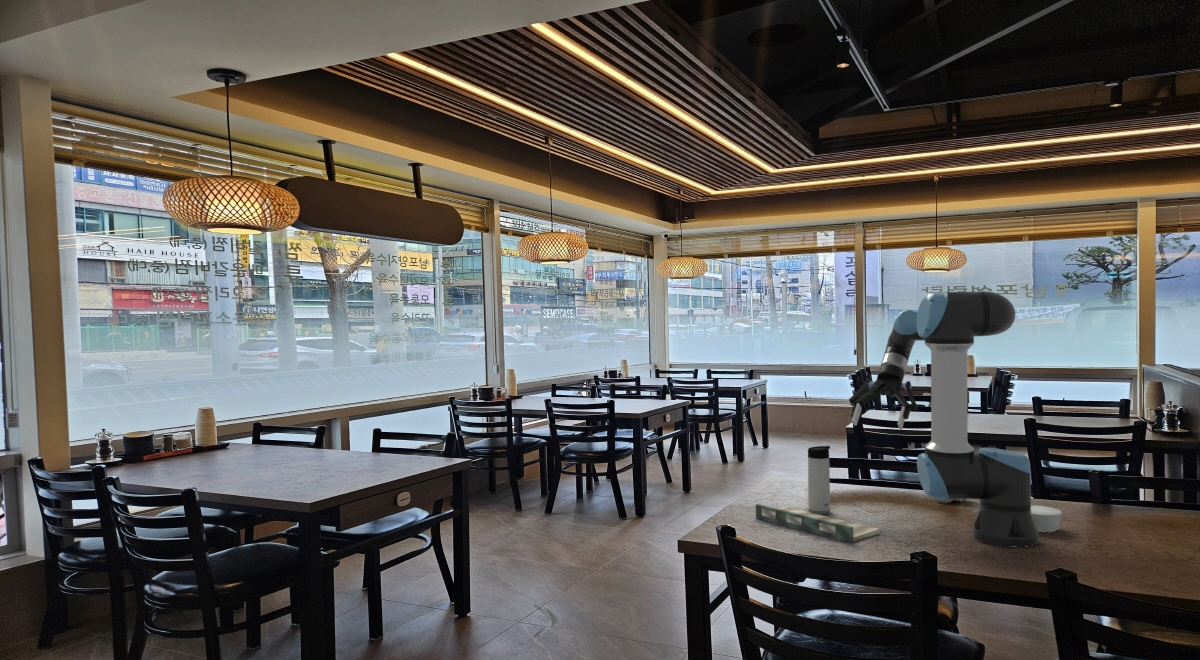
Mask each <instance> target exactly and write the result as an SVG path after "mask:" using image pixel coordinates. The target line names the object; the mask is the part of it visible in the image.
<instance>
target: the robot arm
mask: <svg viewBox="0 0 1200 660" xmlns="http://www.w3.org/2000/svg"><path fill="white" fill-rule="evenodd" d="M1015 319H1016V309H1015V307H1014V305H1013V303H1012V302H1011V301H1010V300H1009V299H1008V298H1007V297H1005V296H1004V295H1001V294H999V293H998V292H993V291H986V290H985V291H940V292H932V293H931V292H930V293H928V294H926V295H924V297H923V298H922V299H921V302H920V304H919V305H918V309H917V311H915V310H912V309H905V310H902V311H900V312H899V313H898V315H897V317H896V318H895V321H894V322H893V326H892V329H891V332H890V333H889V336H888V339H887V344H886V346H885V351H884V354H883V358H882V360H881V362H880V363H881V364H880V367H879V370H878V372H877V378H876V379H875V380H874V381H873V380H872V381H871V380H870V379H869V378H867V379H865V381H864V383H863V385H861V387H859V389H857V391H856V392H855V393H853V394H852V396H851V397H849V399H848V401H849V404H850V405H851V406H852V410H851V413H852V417H851V422H852V423H853V426H857V425H858V422H859V420H860V416H861V412H862V409H863V408H862V406H863V405H865V404H866V403H868V402H870V401H871V400H873V399H874V398H876V397H880V395H881V396H888V397H892V396H893V395H894V396H895V398H896V399H897V400H898V401H899V402H900V403H901V405H902V406H901V409H900V413H899V416H898V419H897V424H896V425H897V427H898V430H903V427H904V423H905V420H908V419H909V418H910V415H911V414H910V413H911V411H918V410H919V409H918V405H917V402H916V400H915V397H914V394H913V387H912V383H911V381H909V380H907V381H906V382H904V377H905V373H906V370H907V368H908V363H909V359H910V355H911V353H912V350H913V347H914V344H915V343H916V342H918V341H919V342H921V341H924V345H925V346H927V348H929V349H930V383H931V385H930V393H931V394H930V396H931V397H930V406H931V407H930V409H931V410H930V412H931V414H930V415H931V416H930V419H931V420H930V421H931V422H930V423H931V425H930V426H931V430H930V432H931V433H930V434H931V436H930V437H931V438H930V439H931V440H930V441H929V442H928V443H926V444H925V446H924V452H922V453H920V454H918V456H917V460H916V467H917V469H916V470H917V475H918V478H919V482H920V485H921V487H922V490H923V491H924V493H925V494H926V496H928V497H929V498H932V499H935V498H937V499H945V500H948V499H966V500H979V510H978V512H977V515H976V519H975V520H974V522H973V523H974V524H973V526H972V536H974V537H973V538H974V539H976V540H977V539H978V540H977V541H979V540H980V542H982V541H983V543H985V542H986V543H985V544H988V543H989V545H993V544H994V546H998V545H1002V546H1001V547H1005V546H1017V547H1016V548H1018V547H1022V548H1026V547H1025V546H1032V545H1036V544H1038V543H1039V544H1040V533H1038V530H1037V527H1036V524H1035V522H1034V519H1033V516H1032V514H1031V505H1032V499H1031V498H1032V487H1031V485H1032V478H1031V477H1032V469H1031V461H1030V459H1029V457H1028V456H1026V455H1025V454H1022V453H1021V452H1020V453H1019V452H1017V451H1012V450H1007V449H1002V448H1001V449H1000V448H996V447H980V448H979V450H978V453H975V447H973V446H972V445H971V444H970V443H969V441H968V351H969V349H970V348H971V347H973V346H974V345H975V337H989V336H995V335H1000V334H1002V333H1004V332H1006V331H1009V329H1010V328H1011V327H1012V326H1013V324H1014V322H1015ZM902 389H904V390H905V391H906V393H907V396H908V398H909V401H910V403H909V402H908V401H907V400H906V398H905V397H904V396H903V395H902V393H901V390H902ZM1039 544H1038V545H1039ZM1036 546H1037V545H1036Z"/></svg>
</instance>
